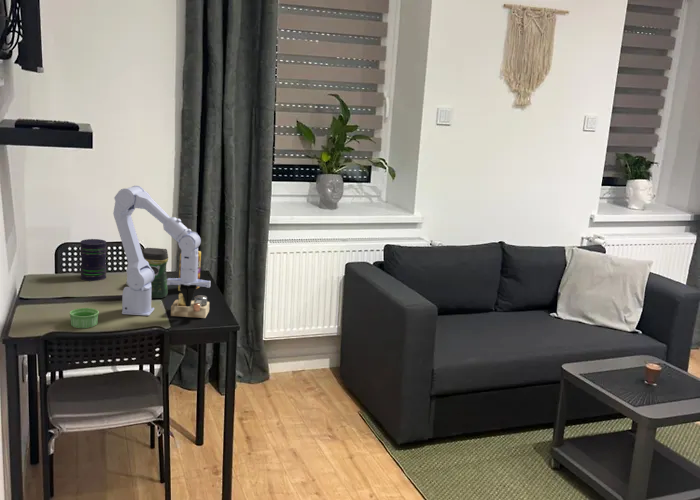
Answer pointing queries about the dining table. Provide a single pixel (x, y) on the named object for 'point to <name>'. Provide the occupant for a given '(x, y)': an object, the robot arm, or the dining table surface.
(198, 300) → the copper tipped joystick
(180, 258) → the candy box
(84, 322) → the ramekin
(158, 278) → the coffee jar
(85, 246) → the storage jar
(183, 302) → the brass pin
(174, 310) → the birch block
